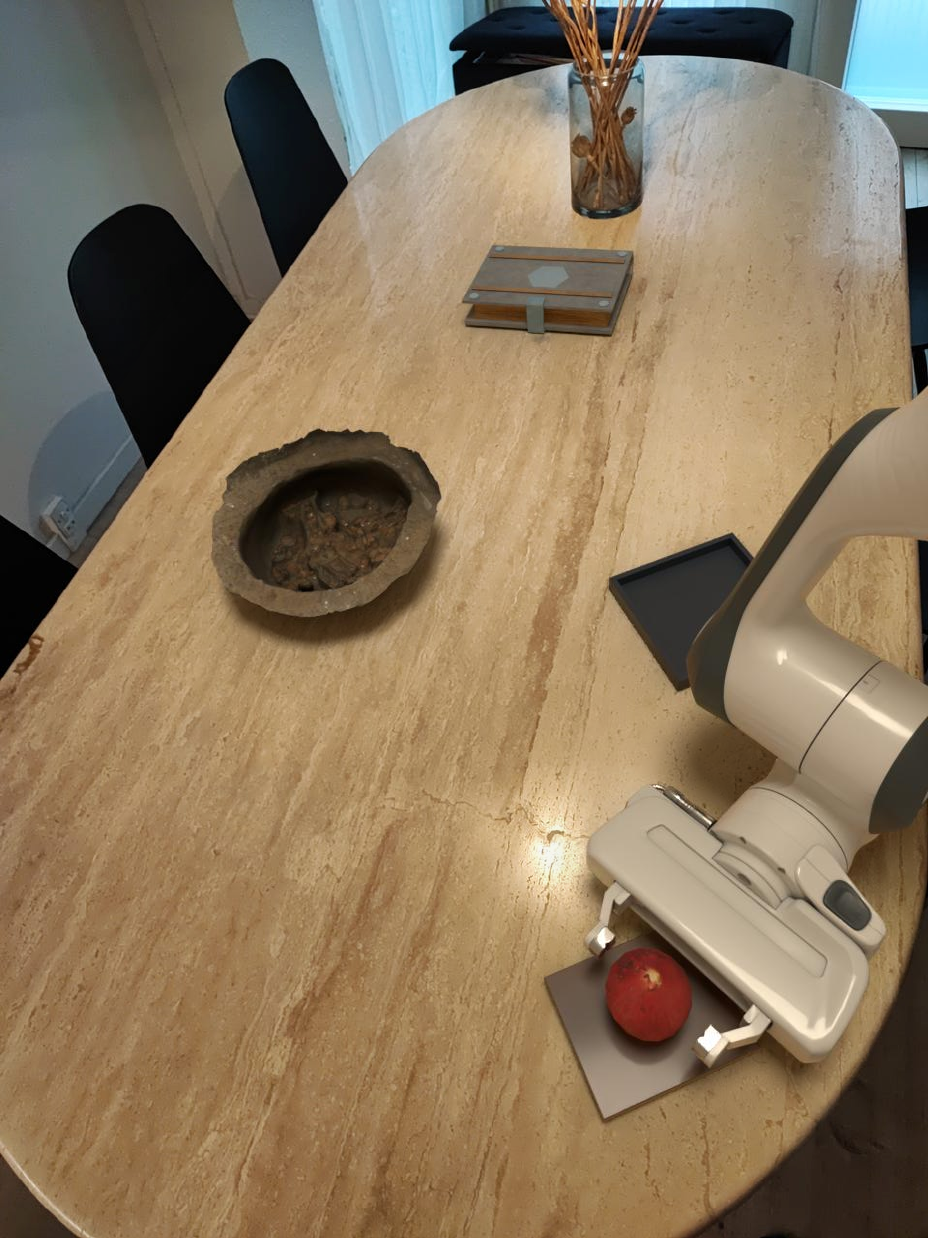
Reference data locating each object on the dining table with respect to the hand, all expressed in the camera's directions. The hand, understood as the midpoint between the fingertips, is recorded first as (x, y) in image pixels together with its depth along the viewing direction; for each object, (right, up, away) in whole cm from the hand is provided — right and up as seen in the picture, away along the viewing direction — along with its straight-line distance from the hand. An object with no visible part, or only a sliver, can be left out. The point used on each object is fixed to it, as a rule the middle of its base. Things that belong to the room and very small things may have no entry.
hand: (643, 1001), depth 57 cm
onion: (+1, -2, +4) cm, 5 cm away
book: (0, +72, +66) cm, 98 cm away
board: (+1, -3, +5) cm, 6 cm away
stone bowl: (-26, +32, +38) cm, 56 cm away
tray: (+12, +26, +27) cm, 40 cm away
